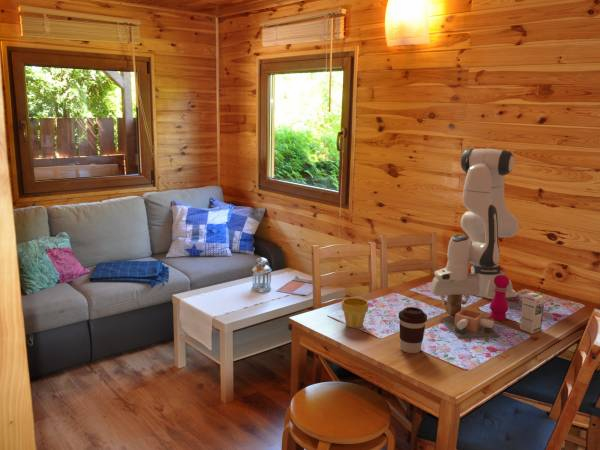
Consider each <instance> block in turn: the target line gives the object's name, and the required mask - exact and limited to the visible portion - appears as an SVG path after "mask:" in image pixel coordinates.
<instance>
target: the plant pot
mask: <svg viewBox="0 0 600 450" xmlns="http://www.w3.org/2000/svg"><path fill="white" fill-rule="evenodd" d="M341 310H342V311H343V315H344V320H345V321H344V322H345V325H346V326H347V327H348V328H352V329H358V328H362V327H363V325H364V321H365V317H366V314H367V312H368V311H369V302H368V300H366V299H365V298H362V297H346V298H344V299H343V300H342V301H341Z"/></svg>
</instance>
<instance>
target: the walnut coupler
mask: <svg viewBox="0 0 600 450" xmlns="http://www.w3.org/2000/svg"><path fill="white" fill-rule="evenodd" d="M446 296H447V298H446V301H447V305H446V308H445V310H446V311H445V312H447V313H448V315H449V316H455V314H456V313H458V312H459V311H461V310H462V304H461V303H462V300H463V295H462V294H456V295H446Z"/></svg>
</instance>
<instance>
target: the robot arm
mask: <svg viewBox="0 0 600 450" xmlns="http://www.w3.org/2000/svg"><path fill="white" fill-rule="evenodd" d="M460 157H461V158H460V167H461V169H462V171H463V172H464V173H465V175H466V176H465V179H464V183H463V190H462V191H463V192H462V204H463V206H464V207H465V208H466V209H467V211H465V212H464V213H463V214H462V216H461V217H460V218H461V219H460V226H461V229H462V231H464V233H466V234H467V235H466V234H461V233H460V234H459V233H458V234H454V235H453V236H451V237H450V239H449V242H448V247H447V252H446V253H447V256H446V257H447V262H446V264H445V265H446V266H445V267H444V268H443V267H442V268H441V269H437V270H435V271H434V278H432V282H431V285H430V286H431V287H430V290H431V291H430V292H431V293H432V294H433V296H436V297H437V296H440V299H441V302H442V303H441V304H442V306H447V299H445V298H446V296H447V295H456V294H462V296H464V297H463V298H462V303H461V306H462V305H463V306H466V305H467V301H468V300H469V299H470V297H471V296H475V297H480V298H481V297H482V298H485V299H488V300H493V298H494V296H495V289H494V288H495V284H494V278H495V277H496V276H498V275H500V273H501V272H504V273H505V271H506V268H505V267H504V266H501V265H499V262H500V259H501V252H500V246H499V238H513V237H514V236H516V235H517V233H518V232H519V229H520V223H519V220H518V218H517V217H516V216H515V215H513V213H512V212H510V211H511V210H509V208H508V207H507V205H506V201H505V183H506V179H505V178H506V175H509V174H510V173H511V172H512V171H513V169H514V166H515V157H514V154H513V152H511V151H509V150H507V149H506V150H505V149H503V150H501V149H495V148H474V147H473V148H467V149H465V150H464V151H463V153H462V154H461V156H460ZM469 264H471V269H470V272H469ZM517 297H518V293H517V292H516V290H514V289H513V284H512V281H511V280H510V279H509V285H508V286H507V291H506V299H507V298H517Z"/></svg>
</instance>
